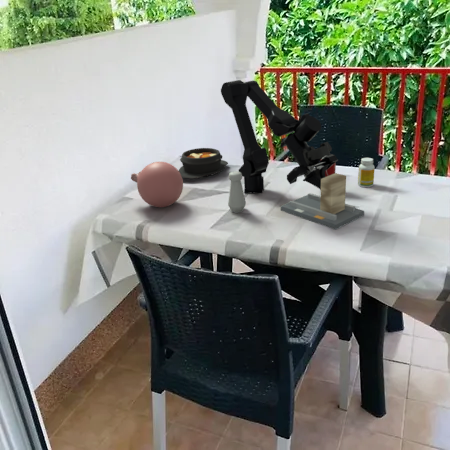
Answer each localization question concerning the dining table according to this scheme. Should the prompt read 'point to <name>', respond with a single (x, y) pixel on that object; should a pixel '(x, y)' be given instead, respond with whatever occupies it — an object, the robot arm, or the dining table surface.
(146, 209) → the dining table surface
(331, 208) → the slider tab
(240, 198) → the salt shaker
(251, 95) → the robot arm
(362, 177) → the supplement bottle
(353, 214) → the switch board
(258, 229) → the dining table surface
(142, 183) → the balloon
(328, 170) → the soda can
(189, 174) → the casserole
